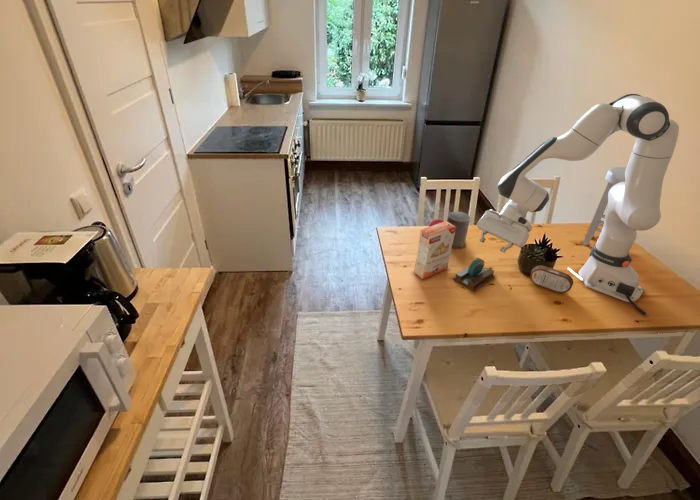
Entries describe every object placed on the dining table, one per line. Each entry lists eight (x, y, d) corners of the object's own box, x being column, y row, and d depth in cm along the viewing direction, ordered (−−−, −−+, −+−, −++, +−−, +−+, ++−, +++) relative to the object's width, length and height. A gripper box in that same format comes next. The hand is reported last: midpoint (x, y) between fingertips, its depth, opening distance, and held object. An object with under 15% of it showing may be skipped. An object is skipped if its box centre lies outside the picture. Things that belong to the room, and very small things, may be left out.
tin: (569, 292, 149) (576, 275, 144) (567, 297, 147) (575, 279, 142) (528, 278, 156) (534, 261, 151) (527, 282, 154) (533, 265, 149)
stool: (584, 231, 189) (613, 163, 170) (620, 243, 181) (654, 173, 161) (576, 244, 179) (605, 173, 160) (613, 256, 171) (648, 184, 151)
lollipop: (441, 245, 176) (446, 216, 167) (443, 254, 169) (448, 225, 161) (424, 244, 176) (429, 215, 168) (425, 253, 170) (430, 223, 162)
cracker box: (423, 280, 153) (430, 236, 142) (413, 272, 158) (419, 228, 146) (448, 269, 160) (457, 226, 148) (438, 262, 164) (445, 219, 153)
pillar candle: (442, 245, 175) (447, 217, 167) (444, 235, 183) (449, 207, 175) (464, 249, 173) (470, 220, 165) (465, 238, 181) (471, 210, 173)
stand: (494, 277, 156) (496, 271, 154) (474, 291, 148) (475, 285, 147) (473, 266, 162) (474, 260, 161) (453, 278, 155) (454, 273, 153)
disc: (482, 273, 156) (486, 257, 152) (470, 280, 152) (474, 264, 148) (477, 270, 158) (481, 254, 153) (466, 278, 153) (470, 262, 149)
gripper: (485, 204, 156) (467, 233, 157) (533, 224, 144) (513, 254, 144) (489, 211, 161) (471, 238, 161) (536, 230, 148) (516, 260, 148)
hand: (491, 246), depth 152 cm, fingers open, 8 cm apart
